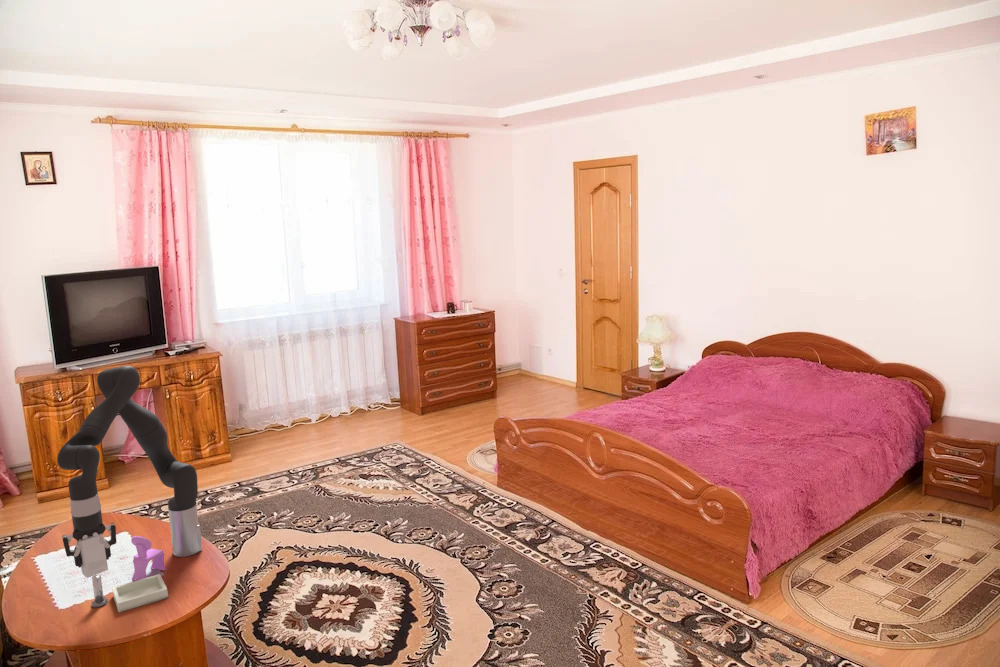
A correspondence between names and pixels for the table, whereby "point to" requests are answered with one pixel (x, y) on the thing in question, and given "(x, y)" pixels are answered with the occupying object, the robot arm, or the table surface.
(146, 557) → the toy chair
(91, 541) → the skincare box
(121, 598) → the tray
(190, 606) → the table surface
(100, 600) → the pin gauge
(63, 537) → the robot arm
